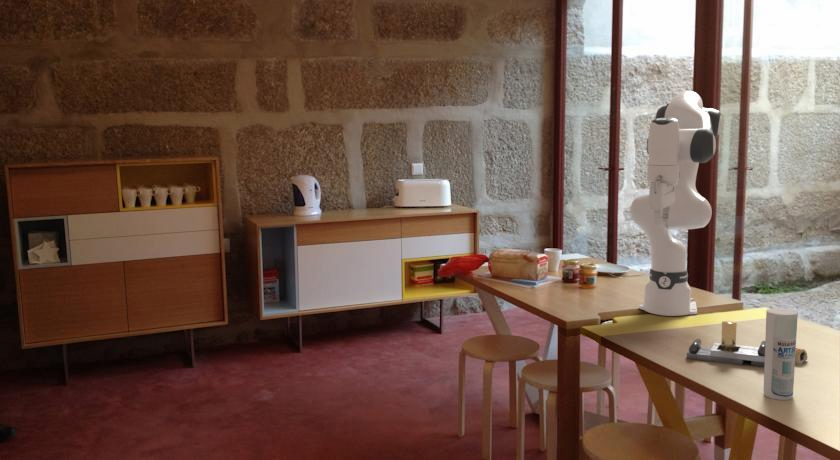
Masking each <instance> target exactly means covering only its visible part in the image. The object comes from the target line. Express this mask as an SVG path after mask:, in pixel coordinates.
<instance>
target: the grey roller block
mask: <svg viewBox="0 0 840 460" xmlns="http://www.w3.org/2000/svg"><path fill="white" fill-rule="evenodd" d="M686 359H690V360H696V361H697V360H698V361H706V362H714V363H722V364H730V365H737V366H743V365H744V362H745V361H750V362H751V363H750V365H751V366H755V367H763V368H764V366H765V340H762V341H760V345H759V347H758V346H751V345H750V346H748V345H743V344H741V345H739V344H736V352H734V351H725V350H721V342H714V343H713V345H712V347H711V346H702V340H701V339H700V338H695V339H694V340H693V342H692V343H691V345H690V346H689V348H688V350H687V352H686Z"/></svg>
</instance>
